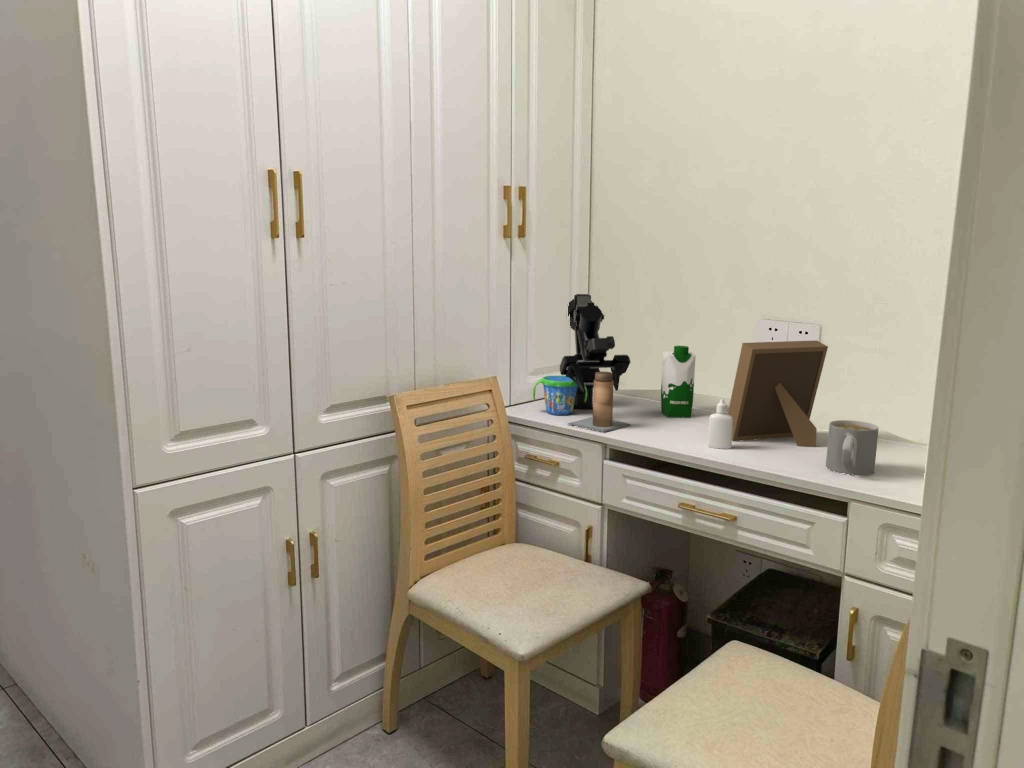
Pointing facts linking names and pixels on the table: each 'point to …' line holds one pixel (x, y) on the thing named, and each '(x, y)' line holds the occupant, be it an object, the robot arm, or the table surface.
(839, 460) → the coffee mug
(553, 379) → the snack cup
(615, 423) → the coaster
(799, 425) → the photo frame
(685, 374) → the milk carton
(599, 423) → the shaker
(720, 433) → the eye dropper bottle
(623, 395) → the table surface
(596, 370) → the robot arm
